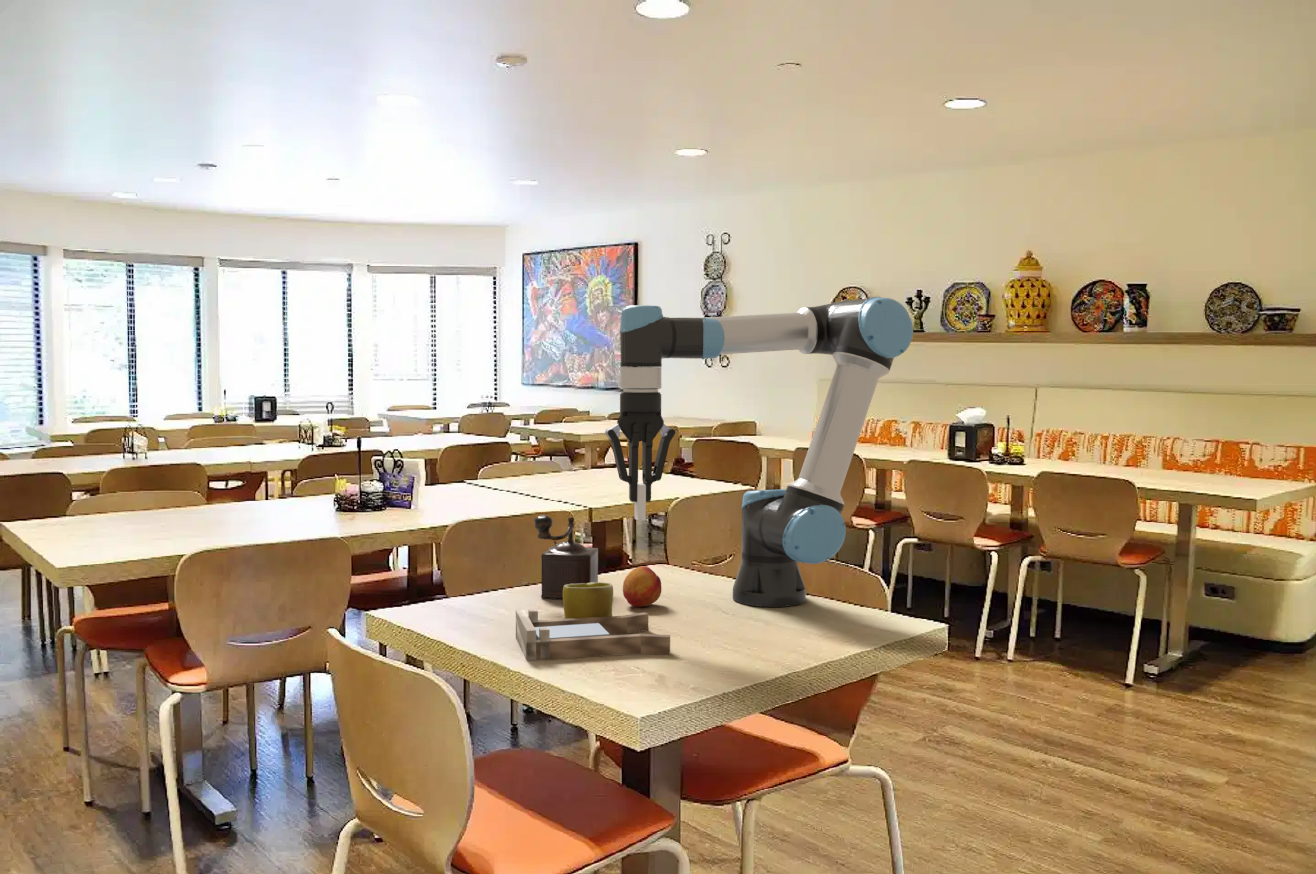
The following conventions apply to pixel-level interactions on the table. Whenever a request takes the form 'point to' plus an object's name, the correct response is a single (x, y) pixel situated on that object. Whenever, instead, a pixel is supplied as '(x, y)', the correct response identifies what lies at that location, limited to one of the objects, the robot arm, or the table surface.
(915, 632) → the table surface
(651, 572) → the fruit
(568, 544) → the manual coffee grinder
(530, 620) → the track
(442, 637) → the table surface
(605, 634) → the pale blue block
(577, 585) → the mug
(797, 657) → the table surface
